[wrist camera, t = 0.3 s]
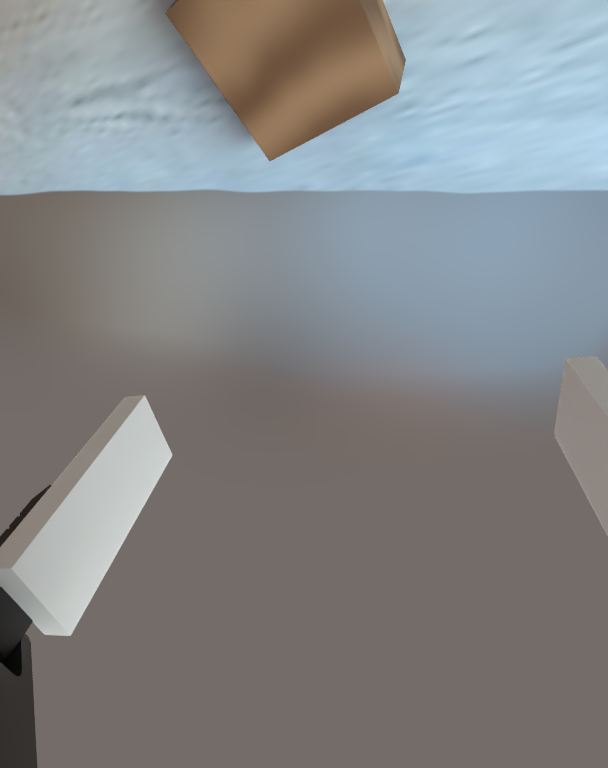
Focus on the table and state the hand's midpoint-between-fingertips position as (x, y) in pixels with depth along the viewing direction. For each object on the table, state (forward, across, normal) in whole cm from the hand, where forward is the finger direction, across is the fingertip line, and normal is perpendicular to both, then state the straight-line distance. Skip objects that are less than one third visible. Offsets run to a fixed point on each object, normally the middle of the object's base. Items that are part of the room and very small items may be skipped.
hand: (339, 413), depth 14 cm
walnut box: (+31, -3, +14) cm, 34 cm away
